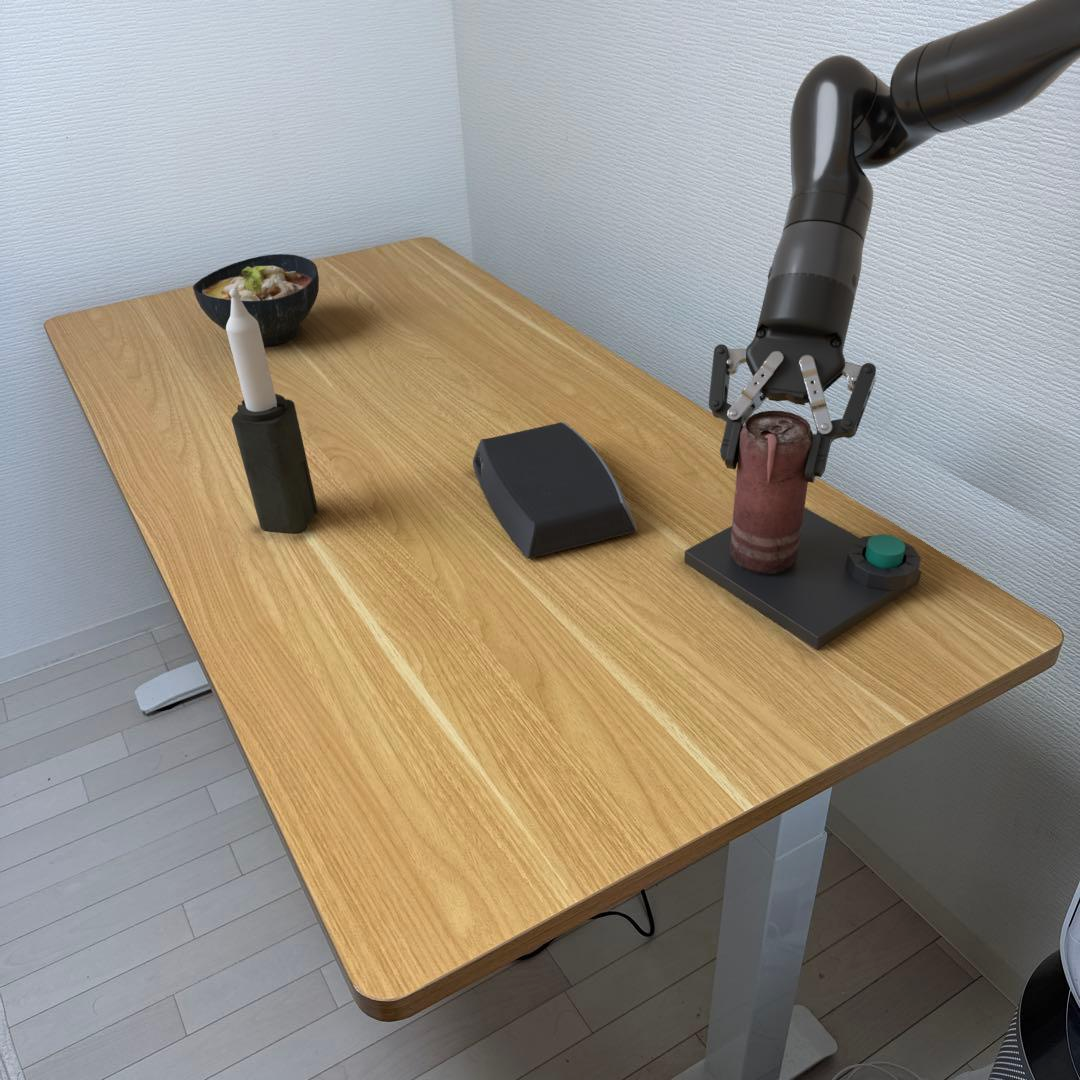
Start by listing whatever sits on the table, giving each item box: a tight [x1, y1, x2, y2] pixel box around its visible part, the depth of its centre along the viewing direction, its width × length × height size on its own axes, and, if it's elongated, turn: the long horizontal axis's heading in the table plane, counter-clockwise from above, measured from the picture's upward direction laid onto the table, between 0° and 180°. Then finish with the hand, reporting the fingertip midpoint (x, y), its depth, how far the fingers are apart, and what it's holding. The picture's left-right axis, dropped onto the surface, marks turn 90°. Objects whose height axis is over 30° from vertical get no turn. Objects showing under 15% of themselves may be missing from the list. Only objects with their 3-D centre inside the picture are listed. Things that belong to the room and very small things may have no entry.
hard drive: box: [472, 421, 639, 559], centre depth 100 cm, size 13×19×4 cm
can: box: [730, 410, 814, 575], centre depth 85 cm, size 6×6×14 cm
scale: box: [683, 507, 923, 651], centre depth 88 cm, size 16×14×3 cm
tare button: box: [865, 533, 905, 569], centre depth 86 cm, size 3×3×2 cm
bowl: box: [192, 253, 320, 348], centre depth 137 cm, size 17×17×10 cm
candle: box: [225, 289, 319, 534], centre depth 93 cm, size 5×5×25 cm
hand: (768, 472), depth 82 cm, fingers closed on can, 6 cm apart
